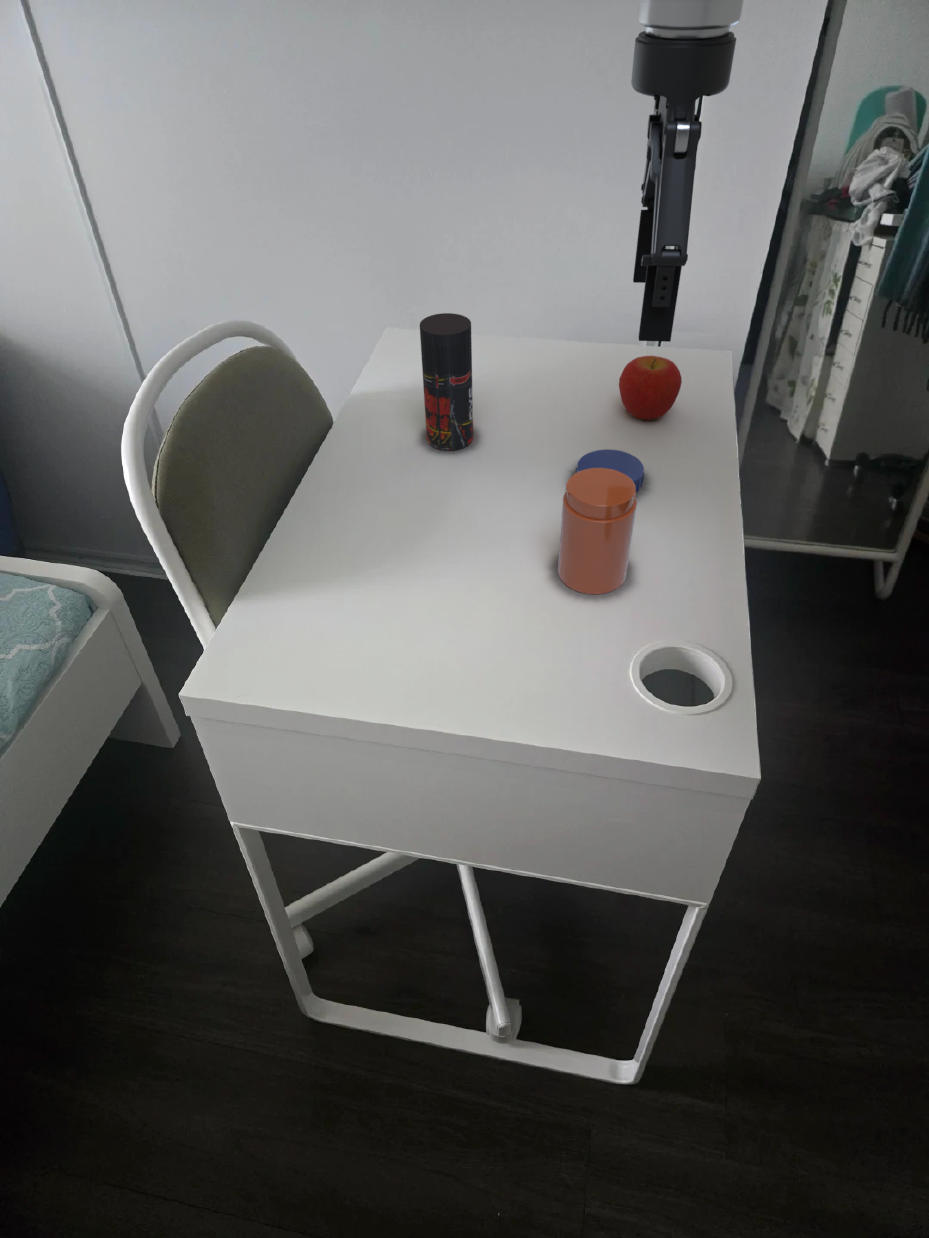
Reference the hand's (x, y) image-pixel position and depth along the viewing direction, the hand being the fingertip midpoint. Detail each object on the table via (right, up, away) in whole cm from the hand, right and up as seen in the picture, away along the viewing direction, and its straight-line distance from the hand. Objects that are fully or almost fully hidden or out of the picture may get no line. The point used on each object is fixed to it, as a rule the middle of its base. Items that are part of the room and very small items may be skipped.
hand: (650, 309), depth 76 cm
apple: (+7, -2, +31) cm, 32 cm away
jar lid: (0, -11, +19) cm, 22 cm away
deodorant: (-19, -6, +28) cm, 34 cm away
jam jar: (-4, -24, +8) cm, 26 cm away
